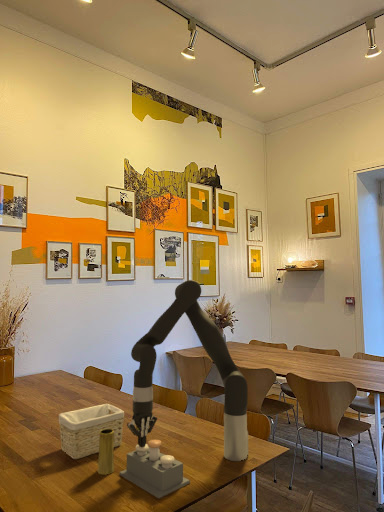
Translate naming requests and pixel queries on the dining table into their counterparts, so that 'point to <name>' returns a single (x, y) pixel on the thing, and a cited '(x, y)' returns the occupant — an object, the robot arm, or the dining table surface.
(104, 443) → the vase
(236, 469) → the dining table surface
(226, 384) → the robot arm
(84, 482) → the dining table surface
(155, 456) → the knob mid
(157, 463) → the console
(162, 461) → the knob near
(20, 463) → the dining table surface
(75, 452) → the storage basket
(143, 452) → the knob far
